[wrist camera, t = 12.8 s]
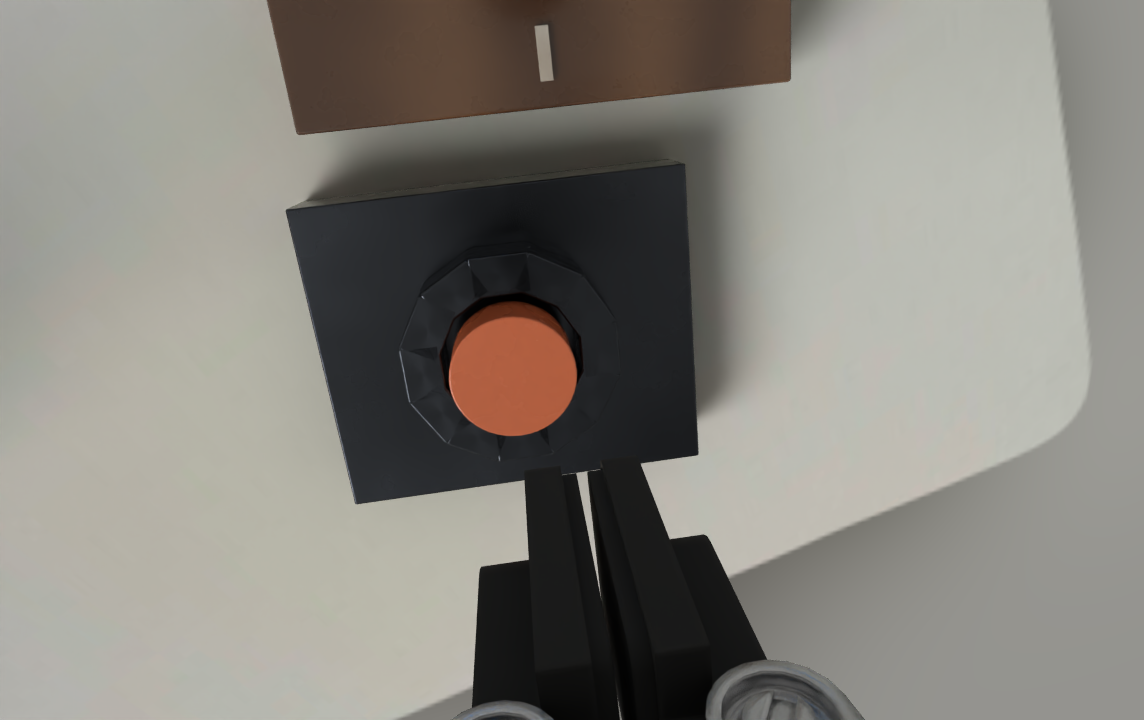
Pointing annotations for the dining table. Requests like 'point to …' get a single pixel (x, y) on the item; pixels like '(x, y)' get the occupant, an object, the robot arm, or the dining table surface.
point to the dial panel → (514, 54)
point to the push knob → (512, 369)
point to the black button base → (491, 275)
